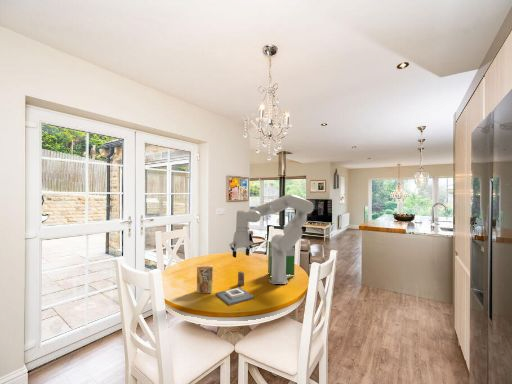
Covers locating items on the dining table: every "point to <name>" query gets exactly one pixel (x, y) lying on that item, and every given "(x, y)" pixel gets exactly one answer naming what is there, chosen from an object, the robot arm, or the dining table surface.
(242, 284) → the walnut pin
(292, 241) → the robot arm
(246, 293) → the board
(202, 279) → the candy box
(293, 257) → the hardback book
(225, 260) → the dining table surface
